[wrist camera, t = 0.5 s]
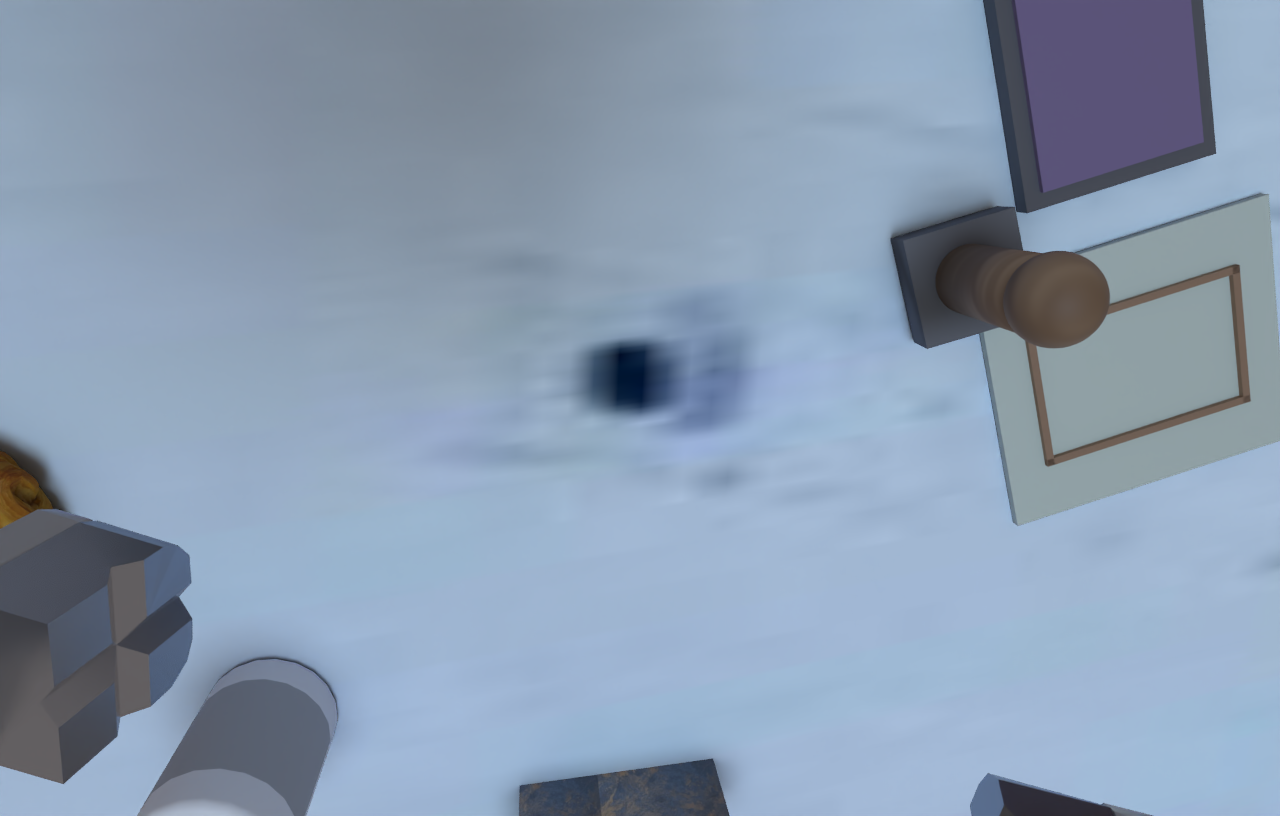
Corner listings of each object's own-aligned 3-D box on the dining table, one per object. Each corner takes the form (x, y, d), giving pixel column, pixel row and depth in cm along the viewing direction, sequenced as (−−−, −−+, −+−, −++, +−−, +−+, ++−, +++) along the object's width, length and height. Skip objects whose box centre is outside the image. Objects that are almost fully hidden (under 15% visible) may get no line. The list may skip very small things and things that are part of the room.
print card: (971, 285, 46) (978, 288, 45) (1260, 193, 46) (1273, 194, 45) (1013, 522, 50) (1020, 528, 49) (1278, 436, 50) (1290, 440, 50)
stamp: (890, 238, 45) (993, 256, 33) (997, 206, 44) (1141, 211, 32) (913, 342, 46) (1021, 396, 34) (1017, 311, 46) (1163, 354, 34)
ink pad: (977, -40, 41) (990, -46, 40) (1178, -102, 42) (1198, -110, 40) (1016, 211, 45) (1030, 213, 44) (1201, 153, 45) (1220, 153, 44)
